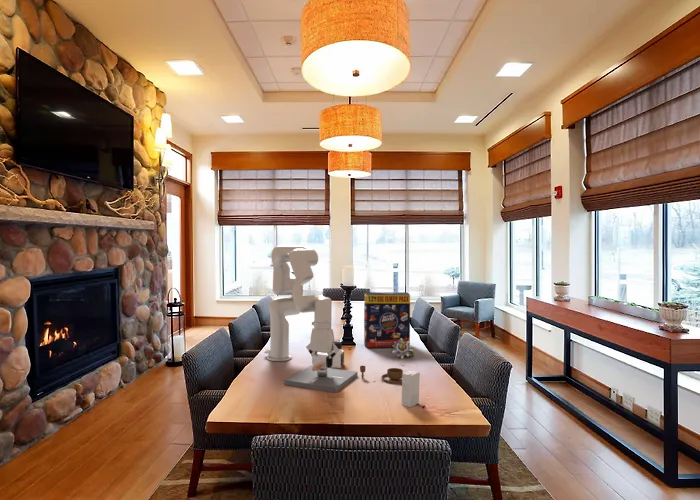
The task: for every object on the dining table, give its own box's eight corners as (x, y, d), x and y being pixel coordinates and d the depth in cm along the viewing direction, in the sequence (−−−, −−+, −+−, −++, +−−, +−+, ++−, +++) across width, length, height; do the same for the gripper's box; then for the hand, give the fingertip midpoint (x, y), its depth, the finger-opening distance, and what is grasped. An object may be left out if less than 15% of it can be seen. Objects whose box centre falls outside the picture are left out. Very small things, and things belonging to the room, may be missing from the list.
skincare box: (409, 400, 170) (410, 369, 170) (419, 403, 167) (420, 371, 167) (400, 405, 165) (401, 373, 165) (411, 408, 163) (411, 375, 162)
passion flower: (402, 368, 232) (390, 351, 229) (396, 359, 242) (385, 343, 239) (419, 357, 232) (408, 339, 229) (413, 348, 243) (403, 331, 240)
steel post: (315, 376, 193) (315, 367, 193) (319, 373, 197) (320, 364, 197) (324, 377, 191) (324, 368, 191) (328, 375, 195) (328, 366, 195)
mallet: (307, 370, 187) (307, 358, 187) (319, 363, 198) (319, 352, 198) (320, 371, 185) (320, 360, 185) (331, 365, 195) (332, 353, 195)
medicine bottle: (340, 368, 212) (341, 343, 212) (326, 367, 214) (326, 342, 214) (344, 364, 219) (344, 340, 219) (330, 363, 221) (330, 339, 221)
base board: (284, 384, 187) (284, 379, 187) (310, 369, 210) (310, 365, 210) (335, 392, 178) (335, 387, 178) (357, 376, 200) (357, 371, 200)
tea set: (396, 388, 185) (396, 375, 185) (357, 379, 197) (357, 366, 197) (415, 378, 200) (415, 365, 199) (378, 370, 211) (378, 358, 211)
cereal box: (406, 343, 267) (406, 291, 267) (411, 347, 255) (411, 292, 256) (363, 344, 264) (363, 291, 264) (366, 348, 252) (366, 293, 253)
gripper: (301, 325, 193) (300, 365, 194) (337, 328, 187) (336, 370, 187) (309, 322, 200) (308, 361, 201) (344, 325, 194) (343, 366, 194)
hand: (322, 365), depth 194 cm, fingers closed on mallet, 6 cm apart
